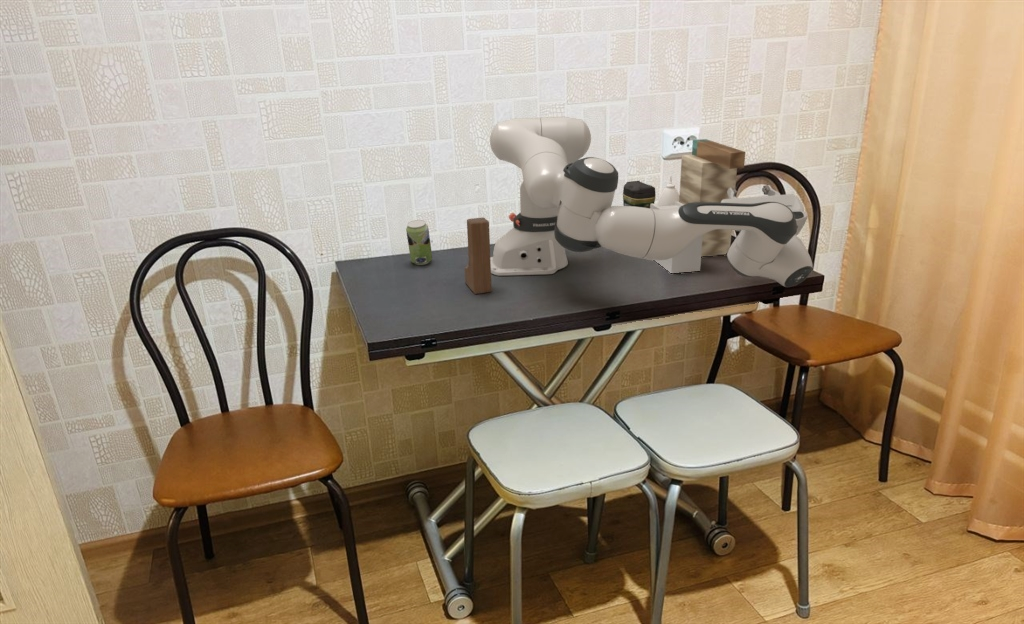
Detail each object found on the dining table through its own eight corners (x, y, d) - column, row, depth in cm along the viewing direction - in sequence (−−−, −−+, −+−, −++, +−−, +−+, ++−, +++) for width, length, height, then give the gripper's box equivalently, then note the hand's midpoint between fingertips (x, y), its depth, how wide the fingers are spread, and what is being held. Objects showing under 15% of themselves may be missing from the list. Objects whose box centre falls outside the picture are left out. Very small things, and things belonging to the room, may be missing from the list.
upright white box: (671, 274, 194) (674, 217, 188) (648, 256, 208) (650, 203, 203) (700, 271, 195) (704, 215, 190) (674, 254, 210) (678, 201, 204)
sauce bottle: (686, 235, 227) (690, 176, 220) (667, 239, 223) (670, 179, 216) (668, 229, 233) (671, 172, 226) (649, 233, 229) (652, 175, 223)
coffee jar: (617, 242, 221) (618, 180, 214) (640, 239, 224) (643, 177, 217) (633, 251, 213) (635, 186, 206) (657, 248, 215) (660, 184, 208)
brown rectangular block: (729, 168, 189) (730, 152, 187) (691, 154, 209) (692, 139, 207) (744, 167, 189) (745, 151, 188) (705, 153, 209) (706, 139, 208)
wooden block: (465, 283, 191) (461, 214, 184) (481, 281, 192) (479, 212, 186) (474, 294, 183) (471, 223, 177) (492, 292, 184) (489, 221, 178)
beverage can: (434, 259, 210) (431, 217, 206) (429, 267, 204) (426, 224, 199) (412, 259, 211) (409, 217, 207) (406, 267, 204) (403, 224, 200)
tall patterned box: (695, 258, 206) (702, 163, 196) (676, 245, 218) (681, 155, 208) (729, 254, 208) (737, 161, 198) (708, 242, 220) (715, 152, 210)
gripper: (726, 240, 177) (705, 200, 185) (803, 234, 181) (780, 195, 189) (734, 221, 172) (713, 181, 181) (814, 215, 176) (789, 176, 184)
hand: (748, 188), depth 185 cm, fingers open, 8 cm apart
